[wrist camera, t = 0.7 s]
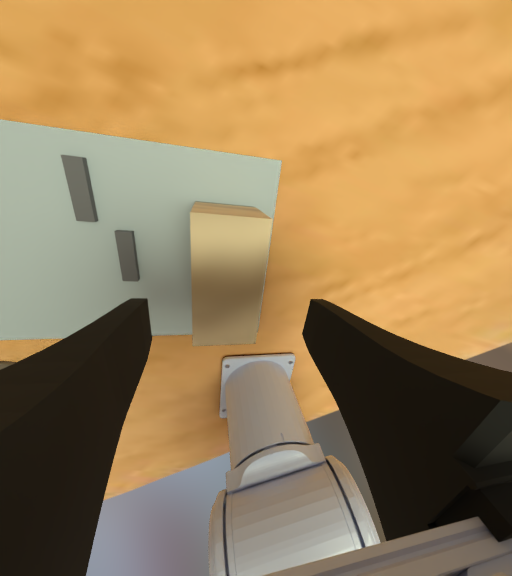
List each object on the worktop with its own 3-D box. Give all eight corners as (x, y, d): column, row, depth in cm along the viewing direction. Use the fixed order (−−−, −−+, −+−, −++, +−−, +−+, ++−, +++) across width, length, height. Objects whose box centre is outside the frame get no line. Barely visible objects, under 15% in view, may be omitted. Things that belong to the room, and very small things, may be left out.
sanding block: (244, 304, 19) (255, 343, 15) (196, 304, 18) (192, 346, 14) (254, 206, 16) (272, 219, 11) (195, 201, 15) (189, 212, 10)
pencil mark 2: (139, 278, 16) (138, 281, 16) (124, 278, 16) (122, 281, 16) (133, 230, 15) (131, 232, 14) (117, 229, 15) (114, 231, 14)
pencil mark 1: (98, 220, 14) (94, 222, 14) (80, 219, 14) (76, 220, 13) (86, 157, 13) (81, 156, 12) (65, 155, 12) (60, 154, 12)
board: (254, 322, 22) (257, 332, 21) (9, 328, 18) (-7, 340, 16) (275, 161, 16) (281, 160, 15) (-92, 108, 12) (-131, 100, 10)
